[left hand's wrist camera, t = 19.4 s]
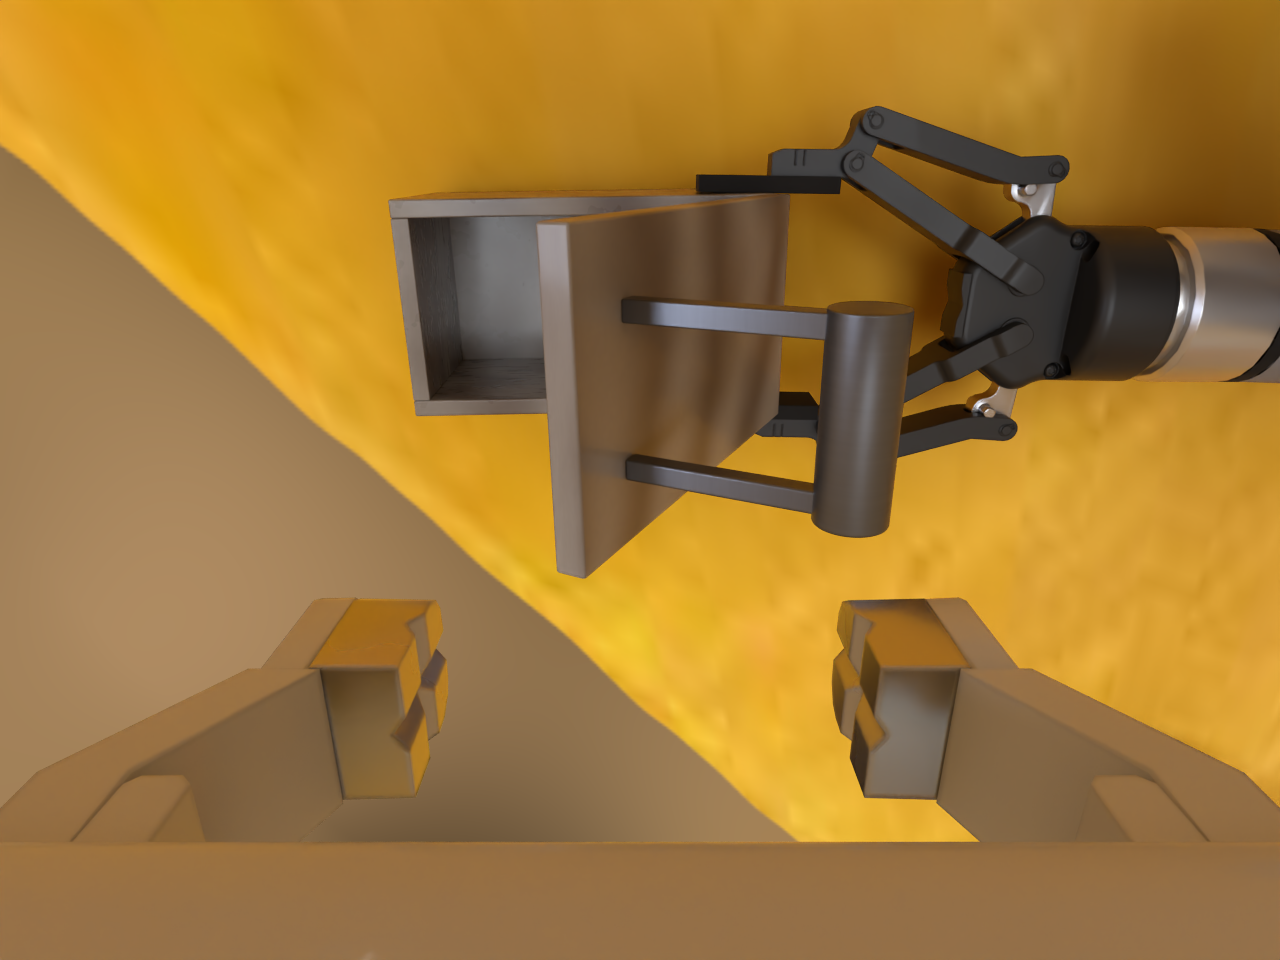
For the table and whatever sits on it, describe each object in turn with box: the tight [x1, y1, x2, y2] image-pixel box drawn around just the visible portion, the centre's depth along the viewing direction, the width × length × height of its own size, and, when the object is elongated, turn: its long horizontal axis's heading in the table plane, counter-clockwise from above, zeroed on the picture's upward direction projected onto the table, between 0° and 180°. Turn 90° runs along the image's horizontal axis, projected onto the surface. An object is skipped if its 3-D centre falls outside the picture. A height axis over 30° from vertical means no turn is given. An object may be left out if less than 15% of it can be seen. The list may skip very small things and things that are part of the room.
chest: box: [389, 189, 775, 416], centre depth 41 cm, size 17×10×10 cm, turn 91°
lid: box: [536, 194, 914, 578], centre depth 27 cm, size 18×10×9 cm
